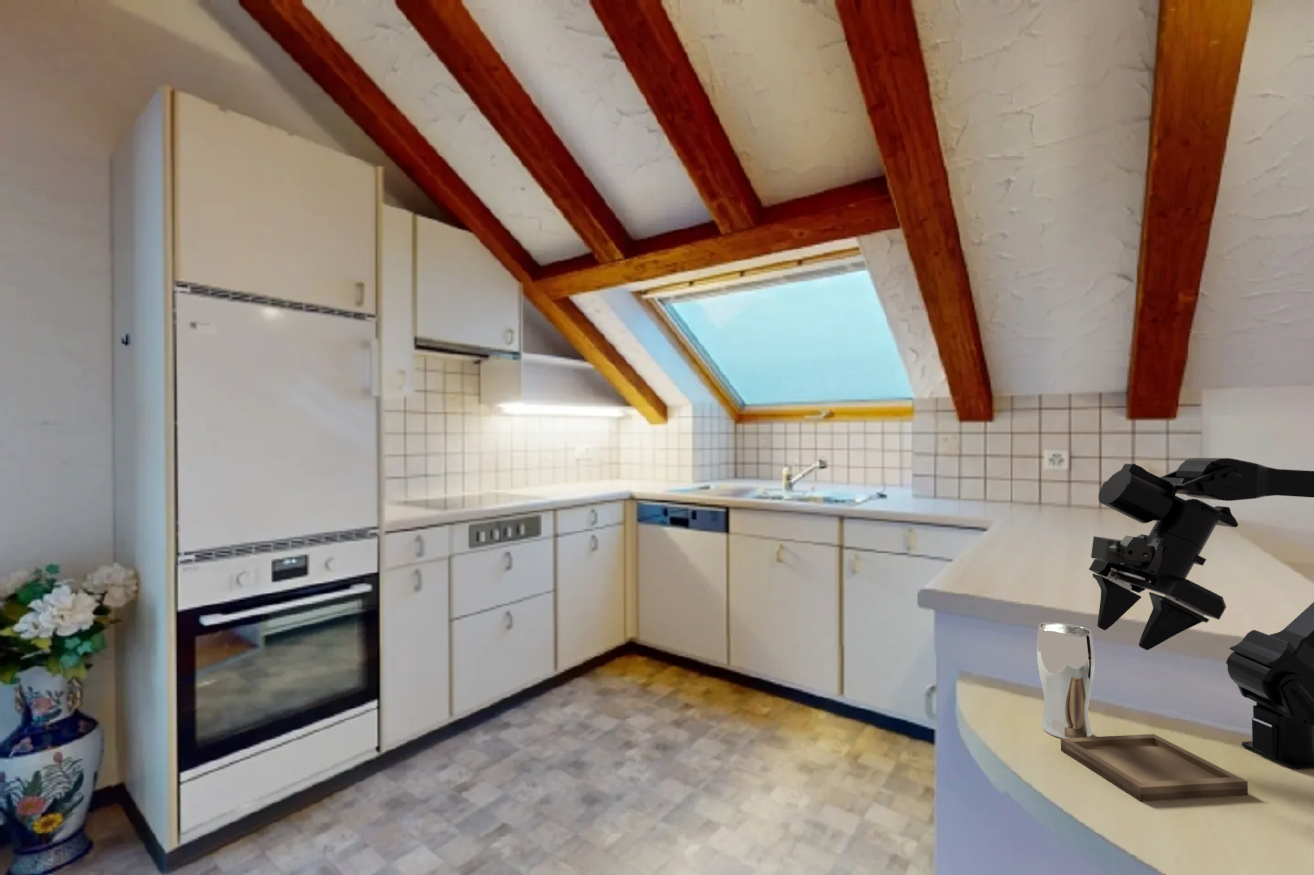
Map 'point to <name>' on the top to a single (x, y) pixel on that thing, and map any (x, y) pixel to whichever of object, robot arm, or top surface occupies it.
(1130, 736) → the walnut tray
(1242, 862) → the top surface
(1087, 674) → the silver metal tumbler
